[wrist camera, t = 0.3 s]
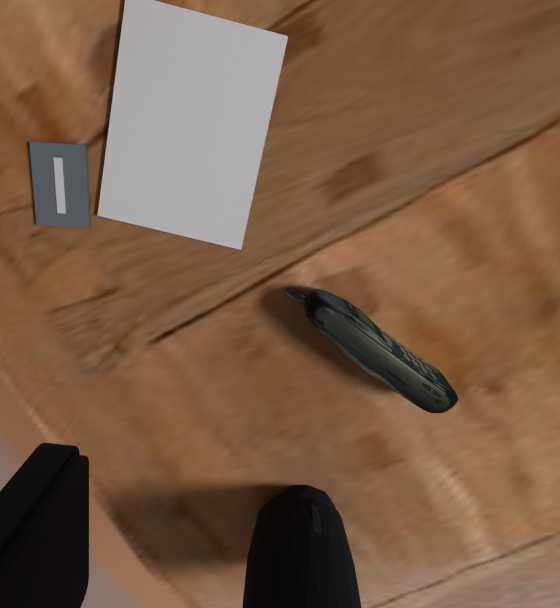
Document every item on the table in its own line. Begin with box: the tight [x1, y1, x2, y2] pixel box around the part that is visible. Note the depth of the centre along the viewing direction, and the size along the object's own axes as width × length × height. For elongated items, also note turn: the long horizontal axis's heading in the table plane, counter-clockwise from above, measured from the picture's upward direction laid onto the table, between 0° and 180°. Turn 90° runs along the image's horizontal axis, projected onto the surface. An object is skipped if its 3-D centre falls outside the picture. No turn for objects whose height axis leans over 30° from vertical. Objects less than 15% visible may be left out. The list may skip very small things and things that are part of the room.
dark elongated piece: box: [286, 287, 458, 413], centre depth 38 cm, size 5×3×15 cm
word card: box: [29, 141, 91, 228], centre depth 36 cm, size 6×4×1 cm, turn 176°
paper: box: [97, 0, 288, 250], centre depth 35 cm, size 15×11×1 cm
